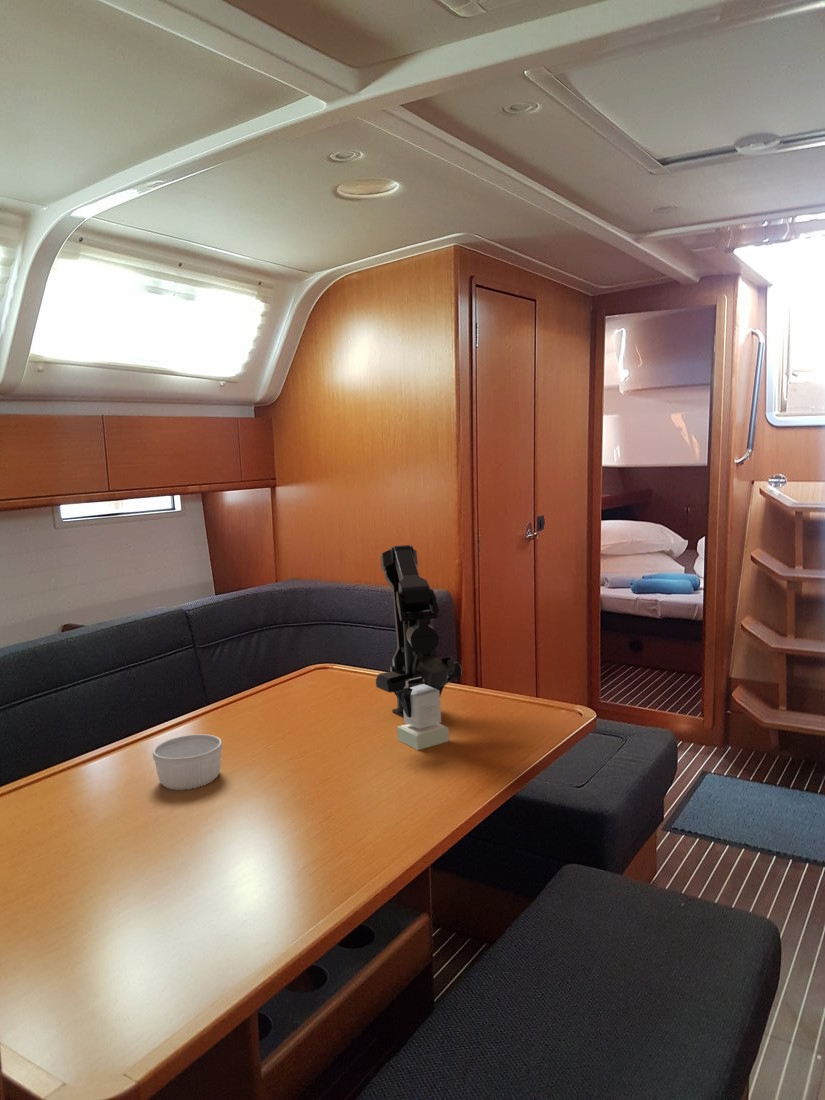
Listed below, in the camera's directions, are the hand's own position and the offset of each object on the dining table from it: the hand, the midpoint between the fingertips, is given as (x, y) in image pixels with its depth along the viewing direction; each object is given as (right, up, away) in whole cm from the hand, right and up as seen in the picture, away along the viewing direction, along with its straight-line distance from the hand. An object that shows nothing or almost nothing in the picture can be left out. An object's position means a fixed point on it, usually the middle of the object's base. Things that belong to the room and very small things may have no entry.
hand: (421, 713), depth 165 cm
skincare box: (0, -2, 0) cm, 2 cm away
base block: (0, -6, +1) cm, 6 cm away
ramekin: (-46, -10, -13) cm, 49 cm away
